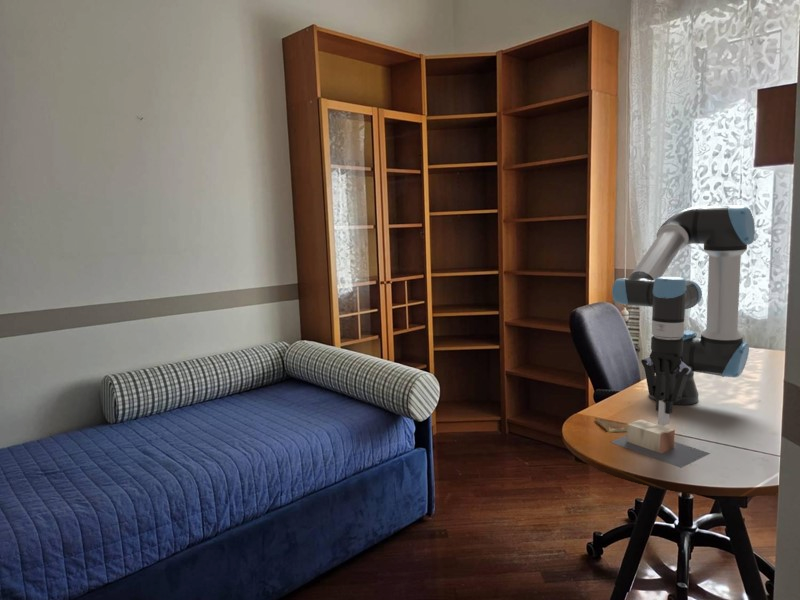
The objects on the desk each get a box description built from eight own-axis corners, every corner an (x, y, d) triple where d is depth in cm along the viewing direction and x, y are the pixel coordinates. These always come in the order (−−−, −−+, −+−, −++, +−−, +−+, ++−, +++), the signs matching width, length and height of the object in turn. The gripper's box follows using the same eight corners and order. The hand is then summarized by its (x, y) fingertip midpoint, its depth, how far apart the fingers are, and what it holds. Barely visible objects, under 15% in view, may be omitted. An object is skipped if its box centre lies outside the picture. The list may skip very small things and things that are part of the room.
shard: (594, 422, 171) (594, 416, 170) (618, 421, 171) (618, 415, 171) (608, 435, 160) (608, 429, 160) (634, 434, 160) (634, 428, 160)
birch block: (673, 447, 148) (639, 436, 156) (674, 429, 147) (640, 419, 155) (661, 453, 144) (626, 441, 153) (662, 435, 144) (627, 424, 152)
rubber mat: (639, 432, 160) (639, 430, 160) (710, 455, 144) (710, 453, 144) (610, 443, 153) (610, 442, 153) (681, 469, 136) (681, 467, 136)
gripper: (635, 334, 146) (632, 420, 150) (684, 342, 136) (679, 434, 139) (651, 331, 151) (648, 414, 154) (700, 338, 140) (695, 428, 143)
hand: (663, 423), depth 146 cm, fingers closed
